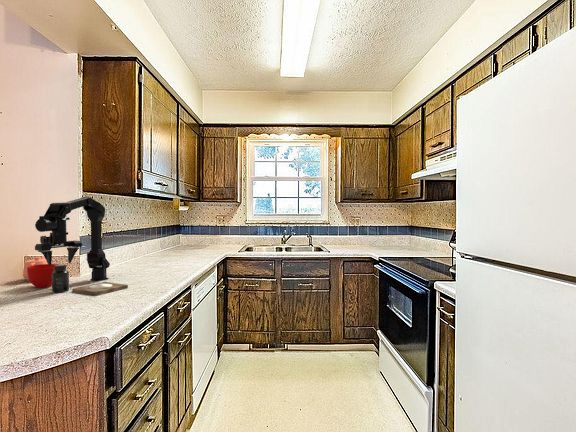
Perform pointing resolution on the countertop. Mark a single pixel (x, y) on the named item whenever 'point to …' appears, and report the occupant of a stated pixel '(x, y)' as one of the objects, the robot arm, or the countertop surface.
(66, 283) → the supplement bottle
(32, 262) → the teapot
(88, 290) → the walnut board
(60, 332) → the countertop surface
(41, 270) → the ceramic cup
